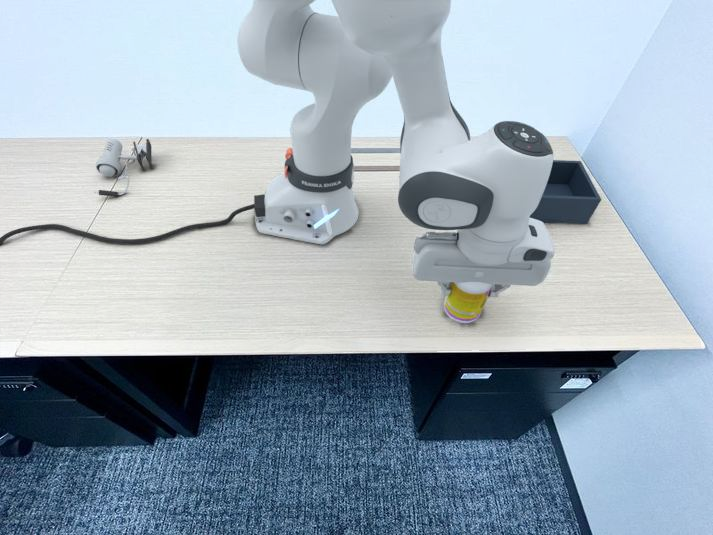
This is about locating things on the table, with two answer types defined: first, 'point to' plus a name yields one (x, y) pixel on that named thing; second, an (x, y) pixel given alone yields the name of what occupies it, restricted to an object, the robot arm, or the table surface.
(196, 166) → the table surface
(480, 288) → the supplement bottle
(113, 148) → the clip-on lamp
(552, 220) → the tub
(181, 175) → the table surface
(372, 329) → the table surface
